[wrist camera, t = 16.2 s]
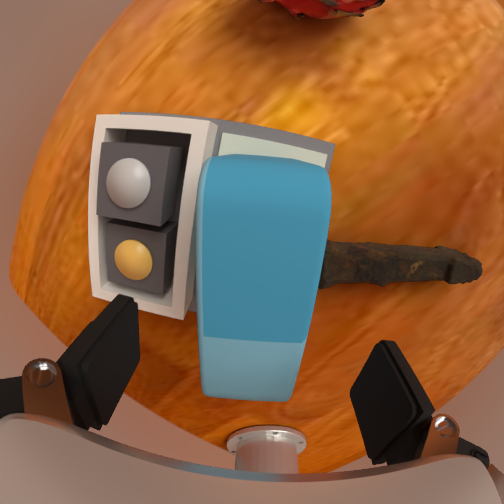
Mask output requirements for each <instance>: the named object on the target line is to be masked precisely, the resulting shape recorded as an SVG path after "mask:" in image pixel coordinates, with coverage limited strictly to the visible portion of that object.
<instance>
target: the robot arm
mask: <svg viewBox="0 0 504 504" xmlns="http://www.w3.org/2000/svg"><path fill="white" fill-rule="evenodd" d="M139 360H140V345H139V324H138V303H137V302H134V298H133V297H130V296H126V295H122V294H118V295H117V296H116V297H115V298H114V299H113V300H112V301H111V302H110V303H109V305H108V306H107V307H106V308H105V309H104V310H103V311H102V312H101V313H100V314H99V315H98V317H97V318H96V319H95V320H94V321H92V322H90V323H89V324H88V326H87V327H86V328H85V329H84V330H83V331H82V332H81V333H80V335H79V336H78V337H77V338H76V339H75V340H74V342H73V343H72V344H71V345H70V346H69V347H68V349H67V350H66V351H65V352H64V353H63V355H62V356H61V357H60V358H59V359H58V361H57V362H54V361H52V360H50V359H47V358H38V359H34V360H32V361H30V362H29V363H28V364H27V365H26V366H25V367H24V369H23V372H22V376H19V377H13V378H7V379H0V504H504V474H503V473H501V472H500V471H499V470H498V469H497V468H496V467H495V466H494V465H493V464H490V465H489V456H488V453H487V452H486V451H485V450H483V449H482V448H480V447H478V446H476V445H474V444H472V443H470V442H468V441H466V440H464V439H462V438H460V437H459V432H460V429H459V426H458V424H457V423H456V421H455V420H454V419H453V418H452V417H450V416H449V415H446V414H438V415H436V416H435V417H432V416H431V415H432V414H433V412H434V411H435V409H434V407H433V405H432V403H431V402H430V400H429V398H428V396H427V394H426V393H425V391H424V389H423V387H422V386H421V384H420V382H419V380H418V379H417V377H416V375H415V373H414V372H413V370H412V368H411V367H410V365H409V363H408V362H407V360H406V359H405V357H404V355H403V354H402V352H401V350H400V349H399V347H398V346H397V344H396V343H395V341H388V340H381V341H380V342H379V343H377V344H376V345H375V346H374V348H373V350H372V352H371V354H370V356H369V358H368V359H367V361H366V363H365V365H364V367H363V369H362V370H361V372H360V374H359V376H358V377H357V379H356V381H355V382H354V384H353V386H352V387H351V390H350V398H351V401H352V404H353V408H354V411H355V414H356V417H357V421H358V424H359V427H360V431H361V434H362V438H363V441H364V445H365V448H366V452H367V455H368V457H369V458H370V459H371V460H372V464H373V465H376V464H382V463H385V462H387V466H382V467H375V468H369V469H362V470H354V471H344V472H332V473H311V474H299V469H298V457H297V455H298V454H299V453H301V452H302V451H303V450H304V449H305V447H306V438H305V436H304V435H303V434H302V433H301V432H299V431H297V430H295V429H292V428H289V427H283V426H270V425H265V426H254V427H249V428H244V429H241V430H239V431H236V432H235V433H233V434H231V435H230V436H229V438H228V439H227V449H228V450H229V451H230V452H231V453H232V454H233V455H235V456H236V462H235V470H231V469H223V468H217V467H211V466H205V465H200V464H194V463H190V462H185V461H181V460H176V459H172V458H168V457H164V456H161V455H157V454H153V453H150V452H147V451H144V450H140V449H137V448H134V447H131V446H128V445H125V444H122V443H119V442H116V441H113V440H111V439H108V438H106V437H103V436H100V435H98V434H95V433H93V432H90V431H88V429H89V427H92V428H94V429H97V430H100V429H101V427H102V425H103V424H104V425H107V424H108V422H109V420H110V418H111V416H112V414H113V412H114V410H115V408H116V406H117V404H118V402H119V400H120V398H121V396H122V394H123V392H124V390H125V388H126V386H127V384H128V382H129V380H130V379H131V377H132V375H133V373H134V371H135V369H136V367H137V365H138V363H139Z"/></svg>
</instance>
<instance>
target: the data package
mask: <svg viewBox="0 0 504 504" xmlns="http://www.w3.org/2000/svg"><path fill="white" fill-rule="evenodd" d="M330 215H331V184H330V179H329V176H328V173H327V171H326V170H325V169H324V168H323V167H321V166H319V165H315V164H312V163H308V162H304V161H300V160H296V159H292V158H282V157H272V156H260V155H246V154H229V155H222V156H215V157H210V158H208V159H207V160H206V161H205V162H204V164H203V166H202V169H201V172H200V176H199V181H198V187H197V195H196V225H195V259H196V304H197V328H198V346H199V361H200V375H201V387H202V392H203V393H204V395H206V396H209V397H218V398H228V399H239V400H254V401H280V402H285V401H288V400H289V399H290V397H291V395H292V392H293V389H294V385H295V382H296V378H297V374H298V371H299V367H300V363H301V359H302V355H303V351H304V347H305V343H306V339H307V335H308V331H309V327H310V322H311V318H312V313H313V309H314V304H315V299H316V295H317V290H318V285H319V280H320V275H321V269H322V264H323V258H324V253H325V247H326V241H327V235H328V229H329V222H330Z"/></svg>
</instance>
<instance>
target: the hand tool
mask: <svg viewBox="0 0 504 504" xmlns="http://www.w3.org/2000/svg"><path fill="white" fill-rule="evenodd" d="M481 265H482V264H481V263H480V262H479V260H477V259H475V258H472V257H470V256H468V255H467V254H466V253H461V252H459V251H457V250H454V249H449V248H447V247H443V246H436V247H435V248H428V247H418V246H409V245H387V244H379V243H370V242H367V243H342V242H332V241H329V240H327V241H326V247H325V253H324V258H323V264H322V269H321V275H320V280H319V285H318V288H319V289H324V288H326V287H331V286H333V285H335V284H339V283H359V282H365V283H373V284H376V285H380V286H382V287H383V286H385V285H386V284H387V283H389V282H414V281H431V280H440V281H441V280H444V281H446V282H447V283H448V284H457V283H462V284H464V283H466V282H468V283H469V282H472V281H473V280H477V279H478V278H479V277H480V276H481V275H482V267H481Z"/></svg>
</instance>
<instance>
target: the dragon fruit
mask: <svg viewBox="0 0 504 504" xmlns="http://www.w3.org/2000/svg"><path fill="white" fill-rule="evenodd" d="M258 1H259V2H273V1H278V2H279V3H280V4H281V5H282V6H283V7H285V8H286V9H287V10H288V11H289V12H290V14H291V15H292V16H293V17H294V19H297V20H300V19H301V18H303V17H304V16H305V15H304V14H306V15H308V16H310V17H314V18H316V19H329V18H341V17H349V16H358V17H362V16H364V14H362V13H364V12H365V11H367V10H369V9H372V8H376V7H379V6H381V5H382V4H383V3H384V2H385V0H258ZM303 13H304V14H303Z"/></svg>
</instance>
